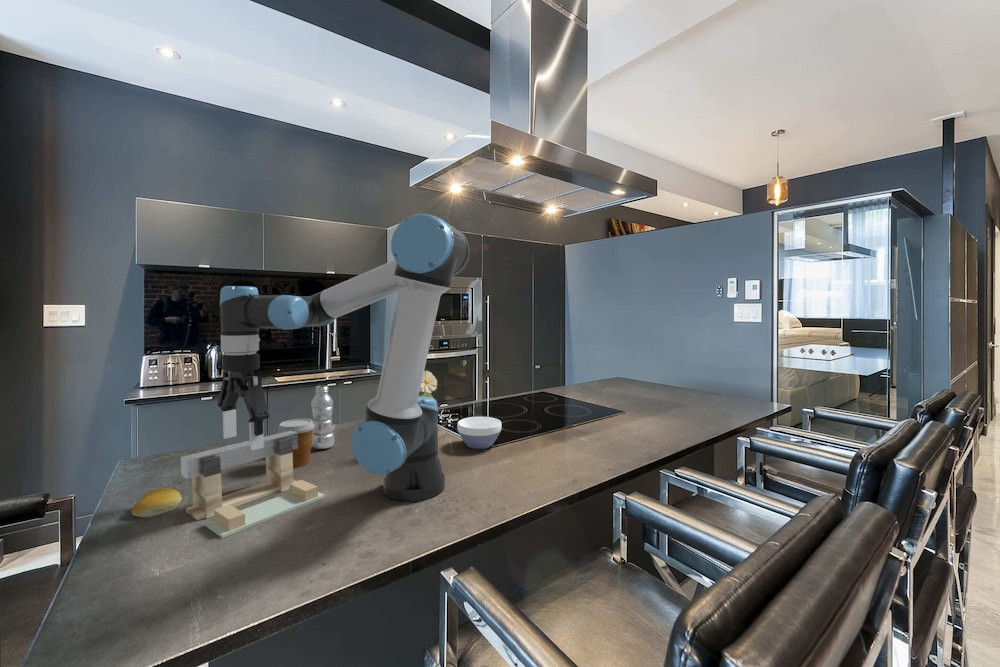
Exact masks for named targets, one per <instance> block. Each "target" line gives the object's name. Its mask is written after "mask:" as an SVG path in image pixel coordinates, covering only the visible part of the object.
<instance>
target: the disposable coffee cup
mask: <svg viewBox="0 0 1000 667" xmlns="http://www.w3.org/2000/svg"><path fill="white" fill-rule="evenodd" d="M277 431H278V433H282V432H287V431H293V432H296V433H298V448H297V449H294V450H292V452H293V468H298V467H303V466H305V465H308V464H309V463H310V459H311V458H310V457H311V450H312V438H313V431H314V420H312V419H310V418H295V419H289V420H285V421H282V422H280V423H279V426H278V428H277Z"/></svg>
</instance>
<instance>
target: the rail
mask: <svg viewBox="0 0 1000 667" xmlns="http://www.w3.org/2000/svg"><path fill="white" fill-rule="evenodd" d="M269 435H270V436H269ZM269 435H265V436H266V437H265V436H264V448H260V449H256V450H252V451H251V450H250V439H249V440H245V441H242V442H237V443H234V444H229V445H225V446H220V447H217V448H212V449H209V450H203V451H204V452H202V451H199V452H200V453H198V452H194V453H195V454H194V453H192V454H187V455H183V456H180V472H181V476H182V477H183V478H186V479H187V480H189V479H192V478H194V477H197V476H201V475H203V468H202V460H204V459H208V458H212V457H216V456H219V457H220V463H221V471H222V470H225V469H229V468H232V467H236V466H240V465H242V464H246V463H250V462H255V461H258V460H261V459H266V457H269V456H272V455H276V454H278V444H277V441H279V440H283V439H287V438H292V450H294V449H297V448H298V433H296V432H293V431H287V432H282V433H279V432H278V433H274V435H273V434H269Z"/></svg>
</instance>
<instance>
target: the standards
mask: <svg viewBox="0 0 1000 667" xmlns="http://www.w3.org/2000/svg"><path fill="white" fill-rule="evenodd" d="M274 434H275V433H274ZM274 434H272V435H274ZM270 435H271V434H269V435H268V436H270ZM266 436H267V435H265V436H264V437H266ZM277 444H278V454H276V455H272V456H269V457H265V476H266V477H265V479H266V480H265V482H262V483H259V484H256V485H252V486H250V487H247V488H244V489H241V490H237V491H235V492H231V493H227V494H224V495H223V493H222V492H223V490H222V489H223V488H222V470H221V463H220V457H219V456H216V457H212V458H208V459H204V460H202V468H203V475H201V476H197V477H194V478H191V485H192V486H191V488H192V505H191V506H188V507H186V513H187V514H189V516H191V517H192V518H193V519H195V520H197V521H200V520H203V519H209V518H212V517H213V518H214V510H215V509H218V508H221V507H224V506H226V505H229V504H230V505H232V506H233V507H235V508H237V507H239V506H243V505H245V504H248V503H251V502H254V501H256V500H260V499H262V498H265V497H268V496H271V495H274V494H277V493H279V492H281V493H282V492H285V491H290V485H289V484H290V483H293V482H296V481H297V480H296V479H294V467H293V452H292V438H287V439H283V440H279V441H277ZM204 451H205V450H203V451H199V452H197V453H200V452H204ZM195 453H196V452H194V453H193V454H195Z"/></svg>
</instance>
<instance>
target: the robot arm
mask: <svg viewBox="0 0 1000 667" xmlns="http://www.w3.org/2000/svg"><path fill="white" fill-rule="evenodd" d="M390 249H391V254H392V256H393V258H394V260H391V261H388V262H386V263H384V264H381V265H379V266H377V267H375V268H373V269H371V270H368V271H365V272H362V273H361V274H359V275H356V276H354V277H351V278H348V280H344V281H342V282H340V283H338V284H336V285H333V286H330V287H329V288H325V289H323V290H322V291H320V292H317V293H315V294H312V295H309V296H307V295H306V296H304V295H303V296H302V295H301V296H297V295H288V294H281V295H279V294H278V295H272V294H271V295H269V294H268V295H260V294H259V290H258V288H257V287H255V286H248V285H247V286H246V285H243V286H240V285H239V286H238V285H237V286H236V285H225V286H223V287H222V288H221V289H220V293H219V294H220V296H219V303H218V304H219V311H220V312H219V314H220V352H222V353H224V354H222V355H221V369H222V379H221V380H222V381H221V385H220V386H221V387H220V392H219V395H218V397H219V398H218V401H217V407H218V408H220V410H221V412H222V437H223V439H224V440H225V439H229V438H235V437H237V436H238V435H237V434H238V432H237V410H236V409H237V408H238V407H237V402H238V399H239V397H240V398H243V401H244V404H245V406H246V410H247V412H248V414H249V419H248V420H247V421H248V424H249V425H248V428H249V430H248V431H249V440H250V450H251V451H252V450H256V449H260V448H264V437H265V436H264V435H265V434H264V427H265V426H264V421H265V420H266V419H269V418H270V414H269V410H268V409H269V408H268V405H267V401H266V397H265V395H264V390H263V386H262V376H261V375H254V371H257V370H258V369H260V367H261V366H260V361H261V360H260V354H259V353H258V351H260V341H261V338H260V329H275V330H276V329H278V330H283V331H284V330H285V331H287V330H297V329H300V328H305V327H306V328H307V327H308V328H309V327H323V326H328V325H330V324H332V323H333V322H334V321H335V320H336V319H337V318H339V317H342V316H344V315H347V314H349V313H352V312H354V311H356V310H359V309H361V308H364V307H366V306H368V305H371V304H375V303H376V302H378V301H381V300H383V299H387V298H389V297H391V296H394V295H396V294H397V298H396V302H395V303H396V304H395V306H394V312H393V317H392V321H391V326H390V332H389V336H388V340H387V346H386V351H385V353H384V354H385V355H384V359H383V364H382V369H381V374H380V378H379V384H378V387H377V388H378V389H377V392H376V396H375V397H373V398H372V399H371V398H370V400H369V401H368V402H367V405H366V409H365V415H364V420H363V422H362V423H360V424H358V426H357V427H356V428H355V429H354V430H353V432H352V435H351V436H350V443H349V444H350V451H351V454H352V457H353V458H354V459H355V460H356V461H357V464H358V465H359V466H360V467H361V468H363V469H364V470H365V471H366V472H369V473H371V474H375V475H385V477H384V479H383V482H382V483H383V484H382V485H383V487H382V488H383V489H382V490H383V491H382V492H383V493H384V495H385V496H386V497H387V498H390V499H392V500H394V501H395V500H396V501H399V502H400V501H402V502H416V501H423V500H427V499H431V498H433V497H435V496H438V495H439V494H441V493H442V492H443V491H444V490H445V488H446V476H445V474H444V472H443V468H442V464H441V462H440V460H439V459H440V458H439V448H438V445H439V443H438V442H439V441H438V440H439V437H438V436H439V434H438V432H439V427H438V426H439V424H438V423H439V419H438V418H439V410H438V401H437V400H436V399H435V398H434V397H433V398H431V397H422V395H421V396H420V395H419V394H420V393H421V391H420V387H421V383H422V378H423V374H424V371H425V368H426V364H427V359H428V355H429V350H430V345H431V342H432V337H433V331H434V328H435V323H436V319H437V313H438V310H439V305H440V299H441V296H443V294H445V292H447V291H449V290H450V289H451V285H452V282H453V281H452V280H453V277H454V276H456V275H458V274H460V273H461V272H462V271H463V270H464V269H465V268H466V266H467V264H469V263H468V262H469V259H470V255H471V250H470V244H469V241H468V239H467V237H466V235H465V234H464V233H463V232H462V231H461V230H460V229H459V228H457V227H455V226H452V225H451V224H450V223H448V222H447V221H446V220H444V219H443V218H442V217H439V216H436V215H432V214H429V213H416V214H415V213H414V214H413V215H410V216H408V217H406V218H405V219H403V220H402V221H401V222H400V223H399V224H398V225H397V226H396V228H395V230H394V231H393V234H392V236H391V240H390Z"/></svg>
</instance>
